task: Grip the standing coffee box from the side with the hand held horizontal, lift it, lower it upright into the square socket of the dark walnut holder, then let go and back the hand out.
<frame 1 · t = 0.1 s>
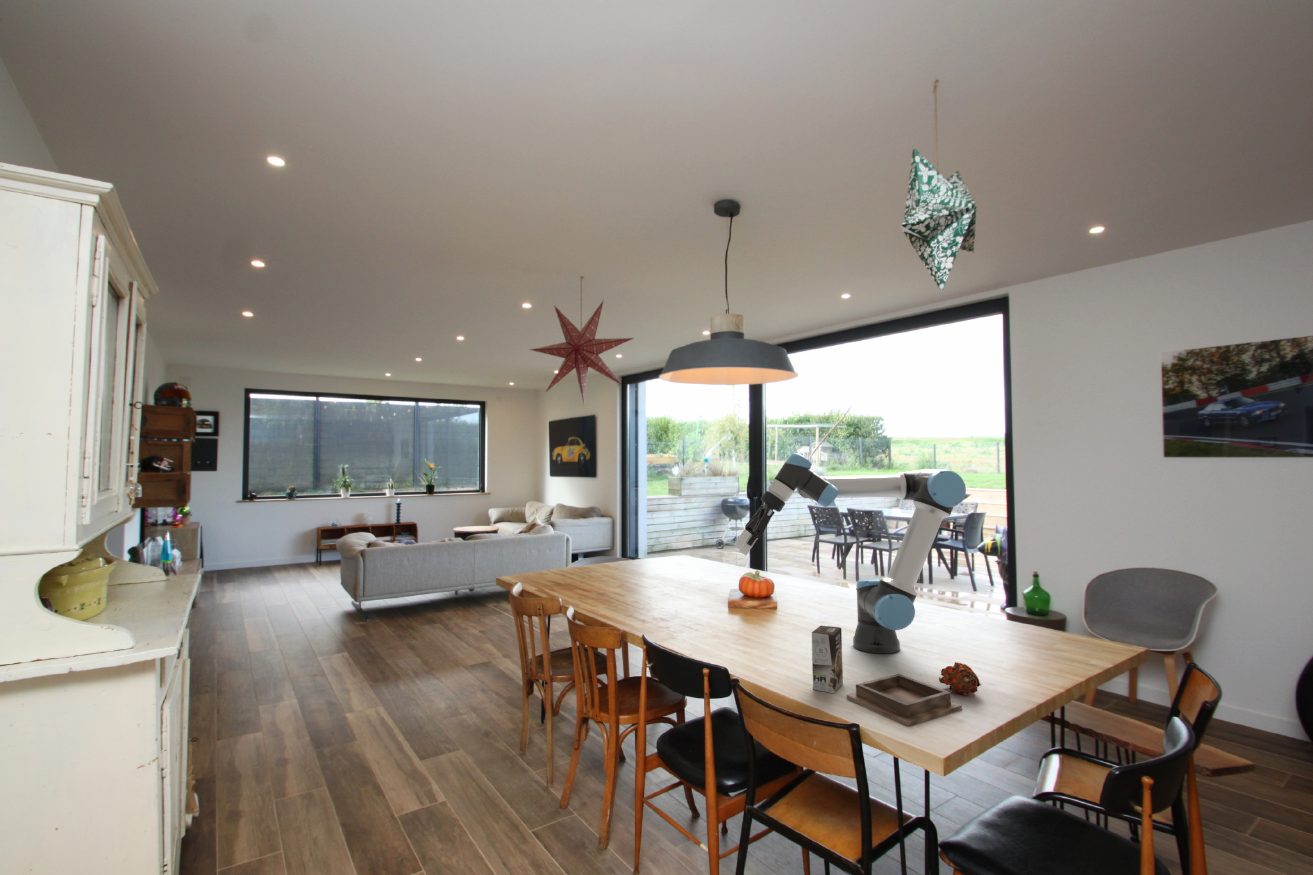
hand: (739, 550, 197), 36 cm above the table, tool tilted 35°, fingers open, 13 cm apart
holder: (902, 703, 160), on the table
coffee box: (828, 687, 173), on the table
dragon fruit: (959, 692, 168), on the table
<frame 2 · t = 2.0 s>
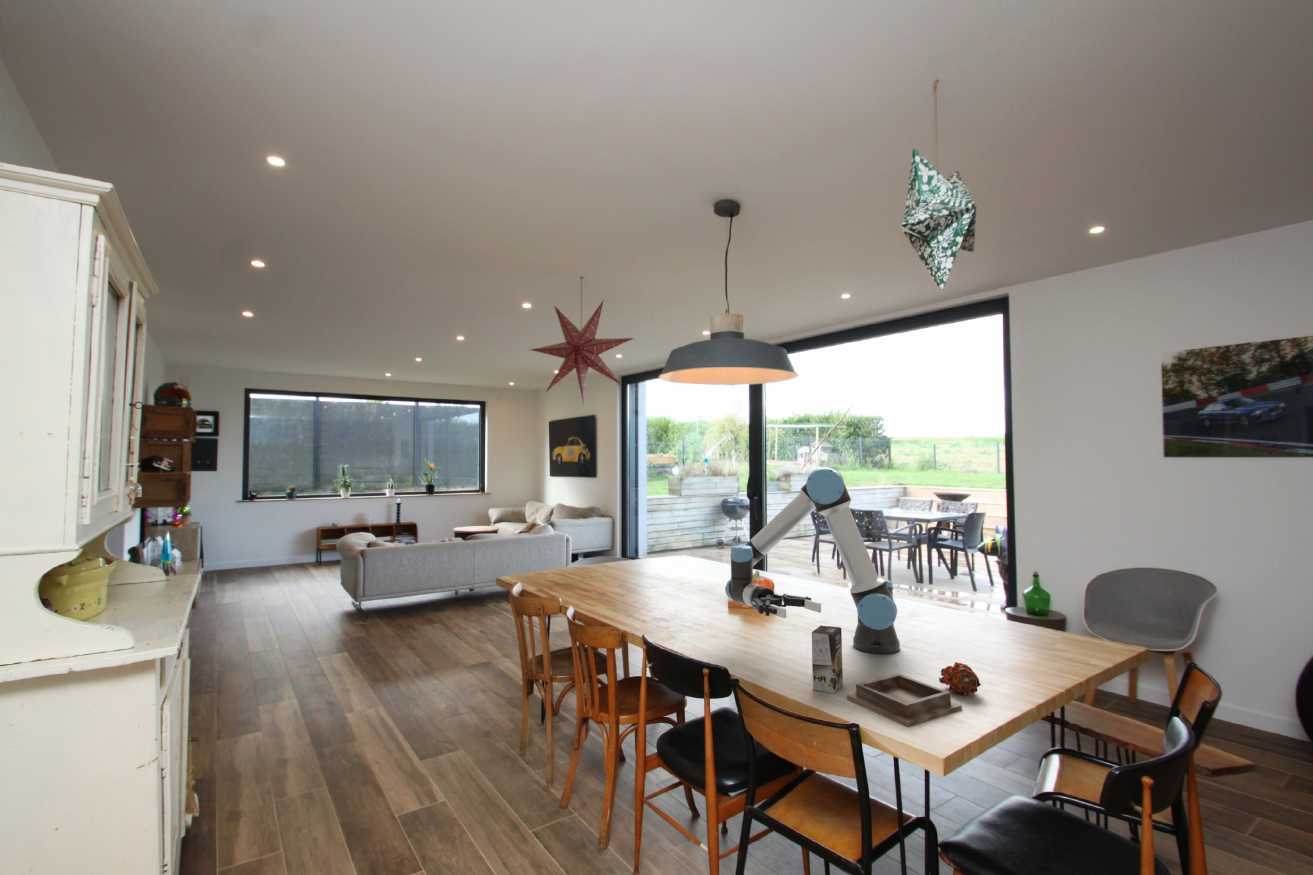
hand: (803, 610, 183), 19 cm above the table, tool horizontal, fingers open, 13 cm apart
nothing on the table moved.
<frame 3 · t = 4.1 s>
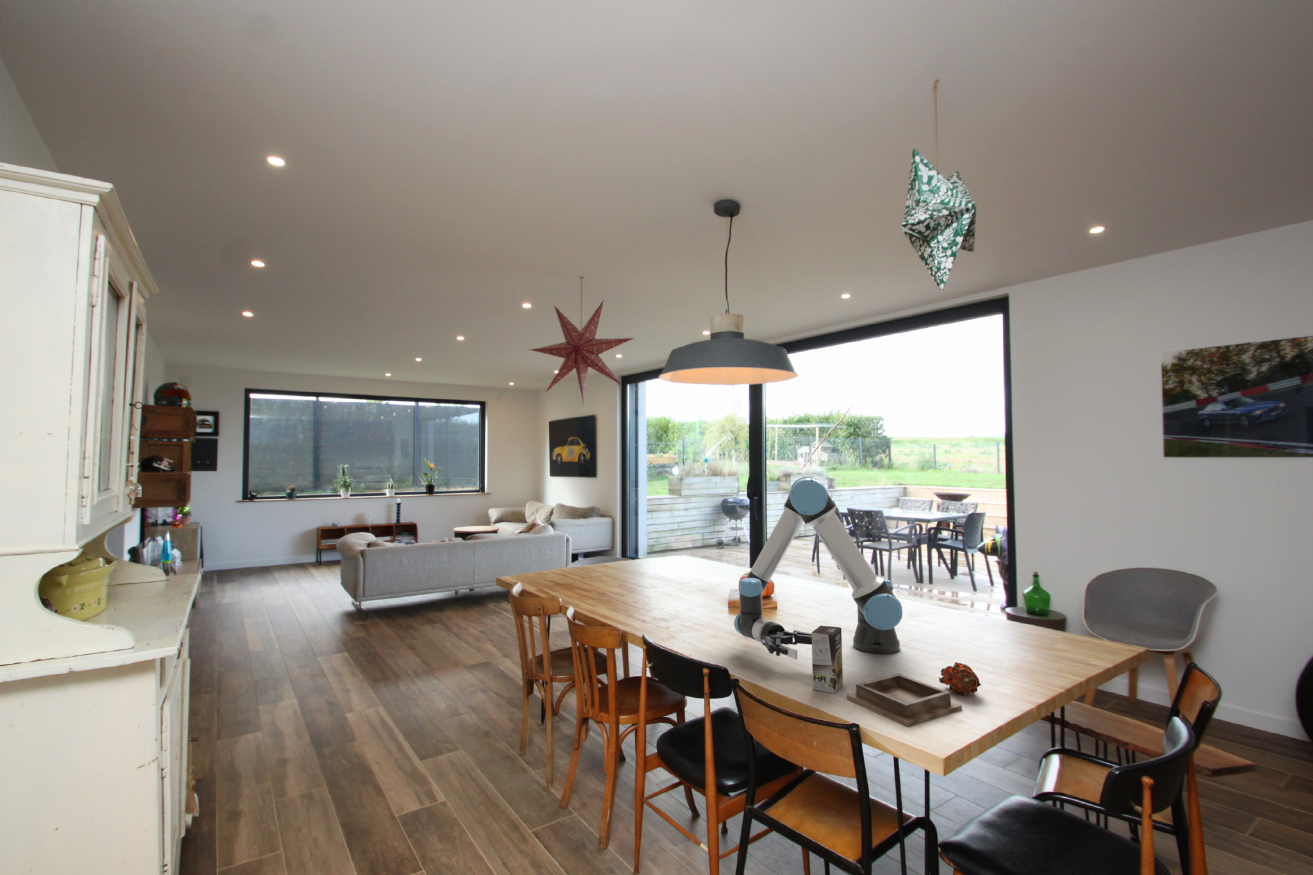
hand: (814, 650, 177), 9 cm above the table, tool horizontal, fingers open, 13 cm apart
nothing on the table moved.
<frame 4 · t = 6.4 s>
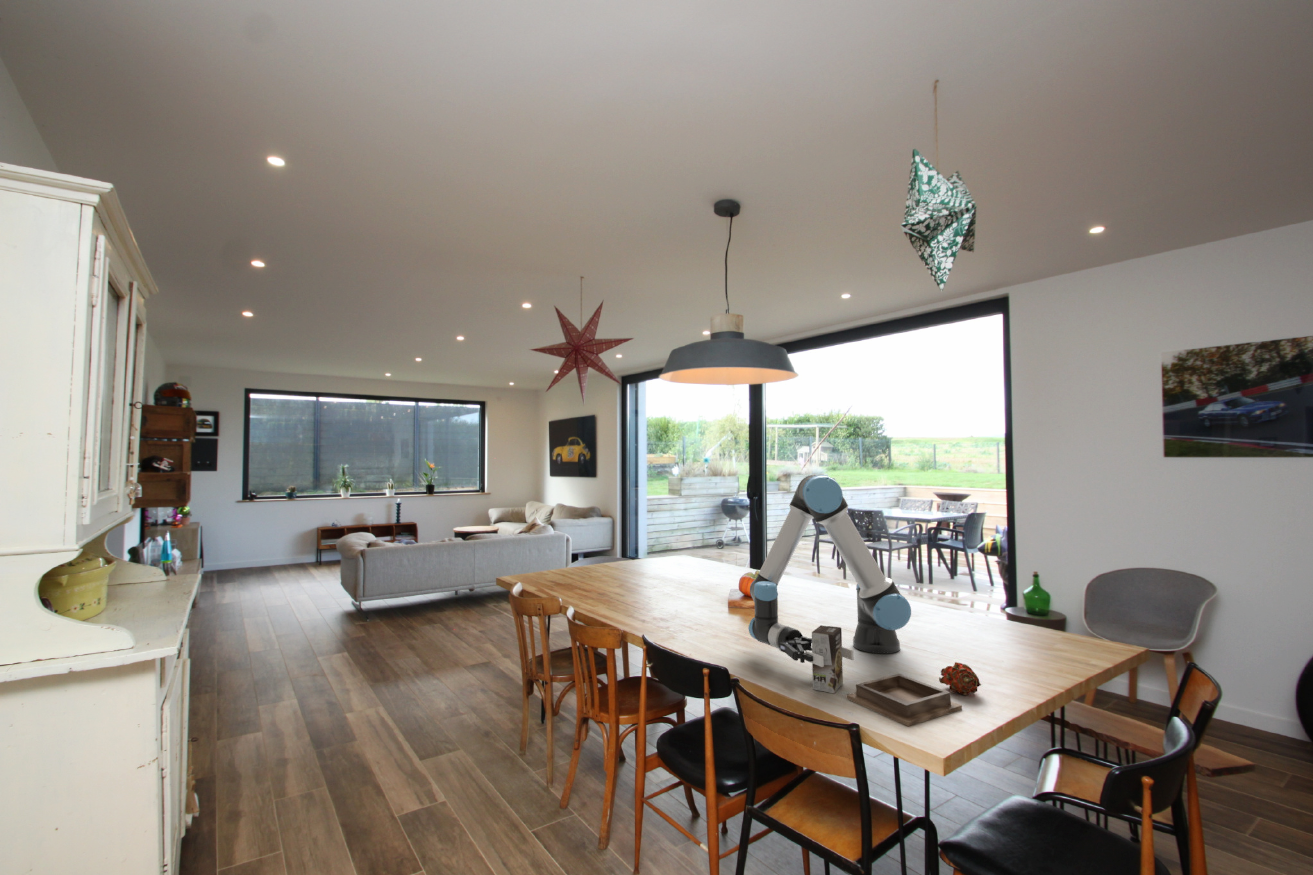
hand: (837, 658, 170), 9 cm above the table, tool horizontal, fingers closed on coffee box, 11 cm apart
coffee box: (828, 687, 173), on the table, touching gripper
everything else where it was.
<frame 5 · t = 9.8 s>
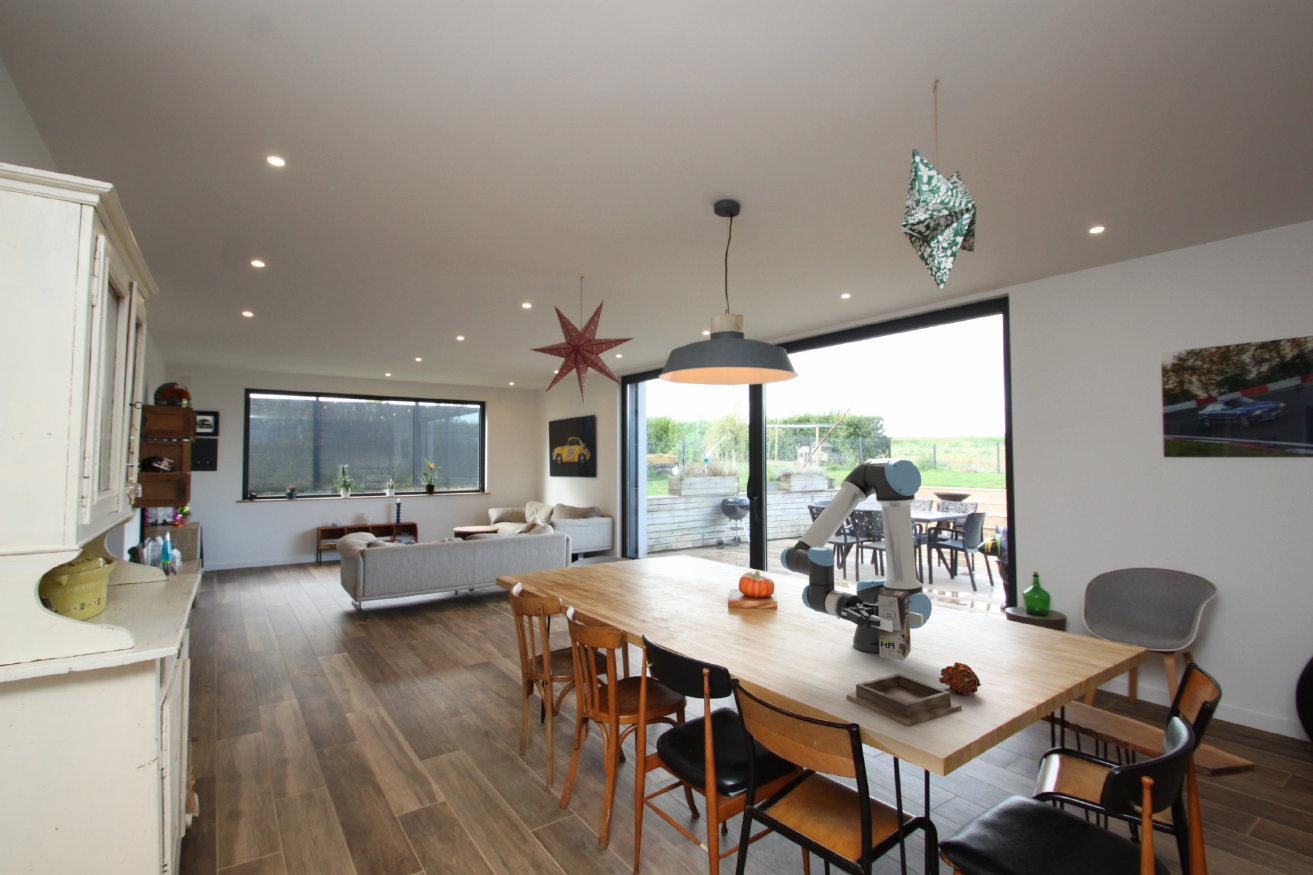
hand: (907, 623, 158), 22 cm above the table, tool horizontal, fingers closed on coffee box, 11 cm apart
coffee box: (895, 654, 161), point 13 cm above the table, touching gripper
everything else where it was.
when the fingers open (11 cm above the table, at t = 13.4 s): coffee box drops 1 cm, resting on holder.
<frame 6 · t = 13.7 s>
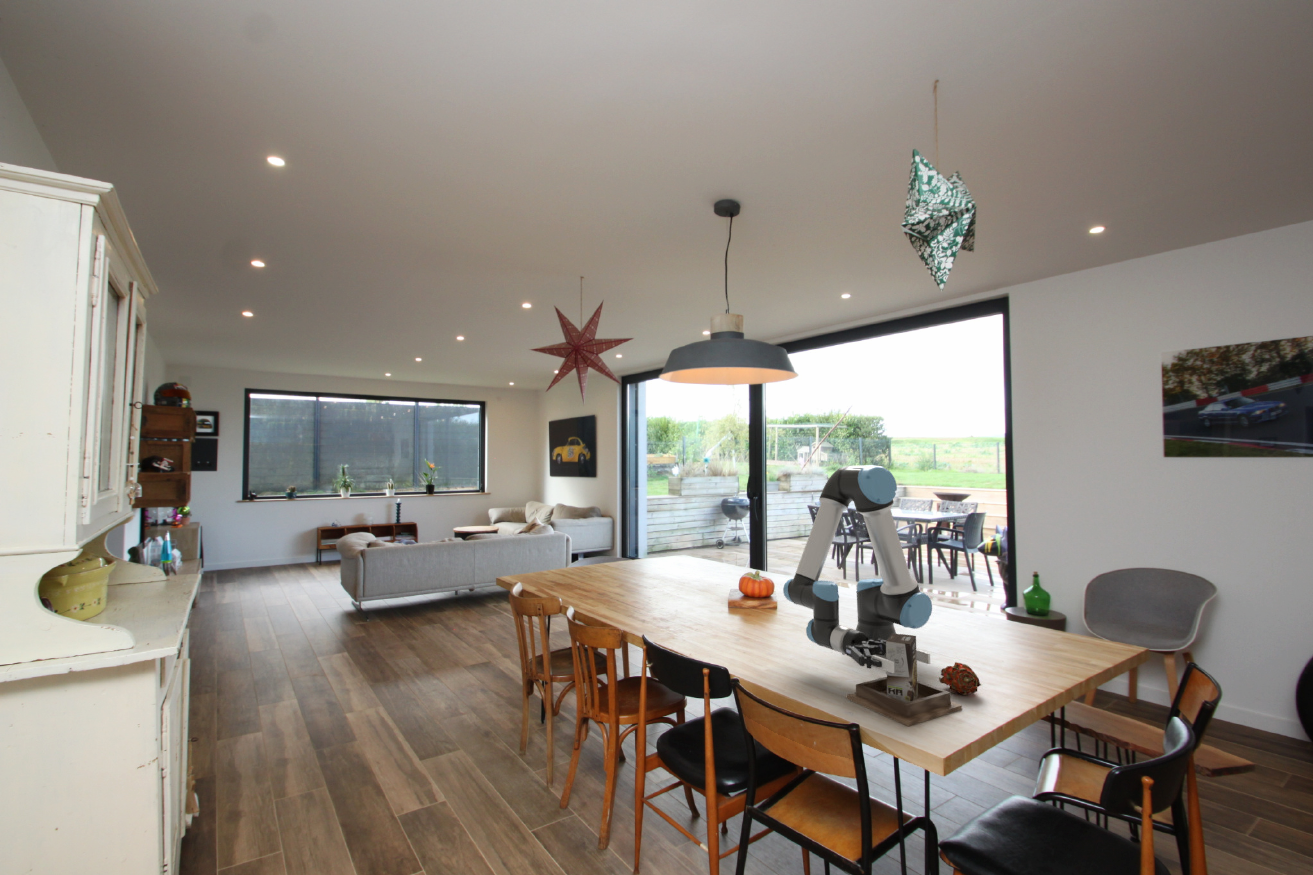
hand: (911, 663, 158), 11 cm above the table, tool horizontal, fingers open, 13 cm apart
coffee box: (903, 700, 160), point 1 cm above the table, touching holder
everything else where it was.
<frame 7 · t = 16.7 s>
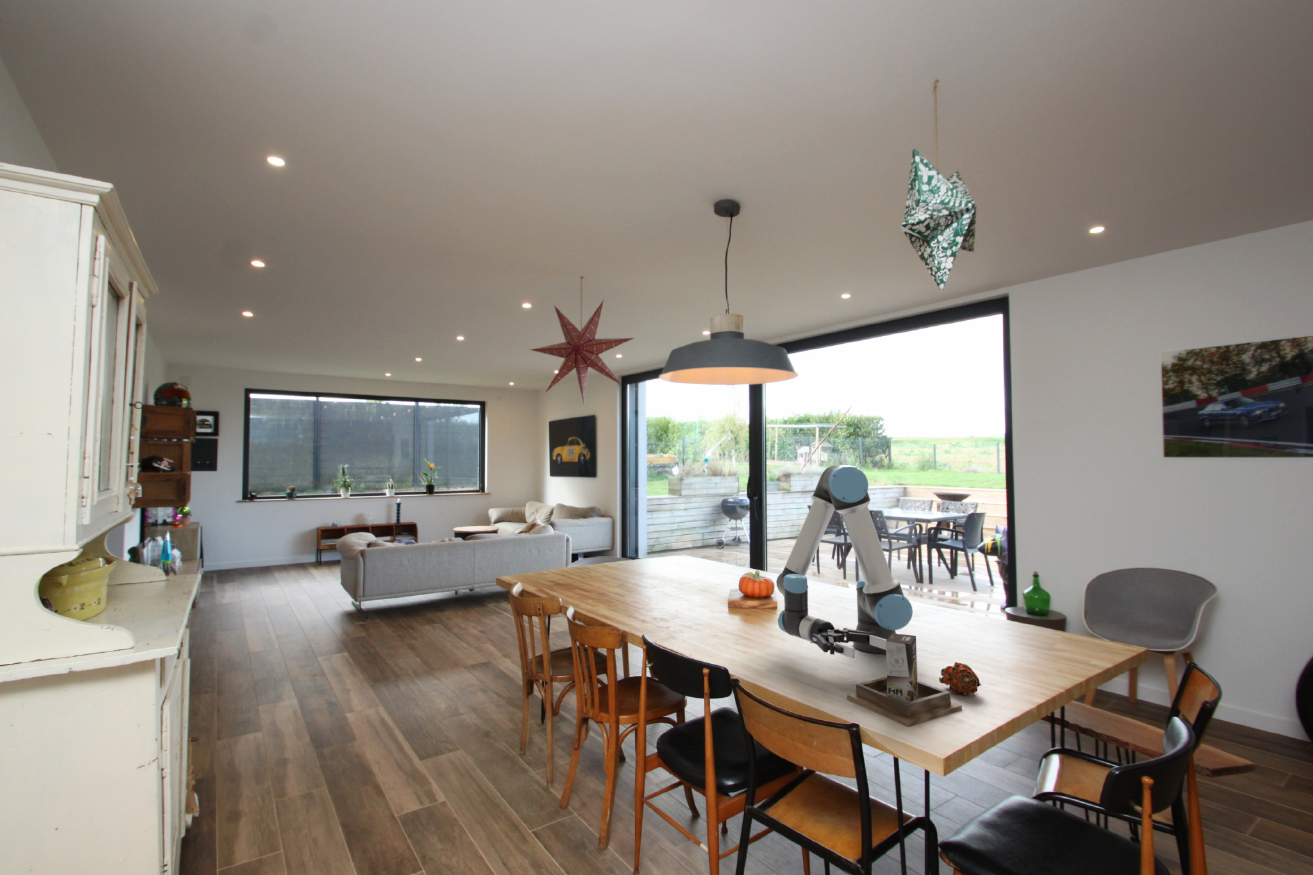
hand: (871, 649, 170), 11 cm above the table, tool horizontal, fingers open, 13 cm apart
nothing on the table moved.
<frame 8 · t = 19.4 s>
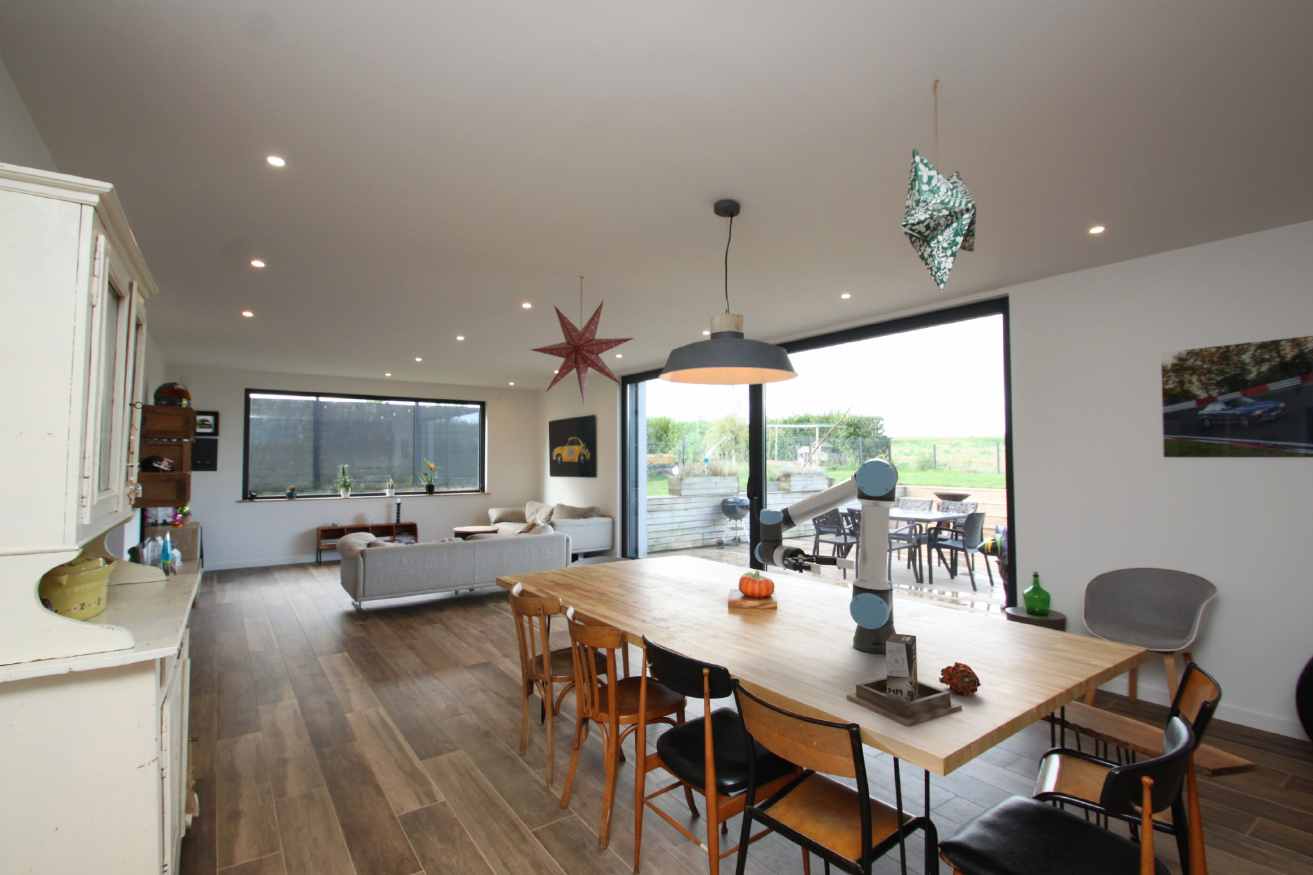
hand: (836, 567, 184), 32 cm above the table, tool horizontal, fingers open, 13 cm apart
nothing on the table moved.
at the end: coffee box inside the target area on the holder (0.2 cm from its centre), point 0.8 cm above the holder's base; coffee box tilted 0°; the gripper is holding nothing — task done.
